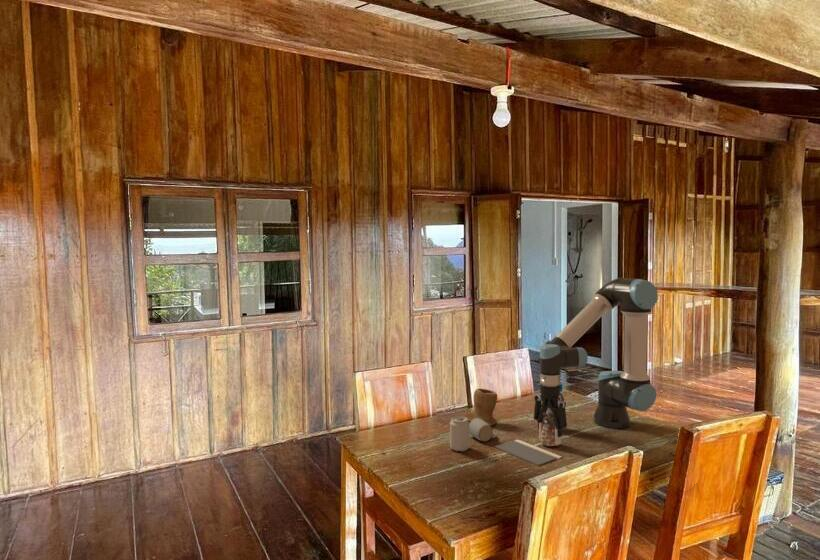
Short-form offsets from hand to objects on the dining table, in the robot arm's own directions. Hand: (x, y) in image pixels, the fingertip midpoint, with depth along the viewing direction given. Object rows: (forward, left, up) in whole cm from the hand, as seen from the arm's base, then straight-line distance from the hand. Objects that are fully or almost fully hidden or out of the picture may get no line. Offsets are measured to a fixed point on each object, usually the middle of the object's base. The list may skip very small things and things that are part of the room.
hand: (549, 441), depth 212 cm
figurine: (0, 0, -1) cm, 1 cm away
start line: (+7, 0, -1) cm, 7 cm away
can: (+31, -18, -2) cm, 36 cm away
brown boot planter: (+3, -36, -2) cm, 36 cm away
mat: (+14, 0, -1) cm, 14 cm away
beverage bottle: (-16, -11, -2) cm, 19 cm away
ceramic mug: (+16, -21, -2) cm, 26 cm away
